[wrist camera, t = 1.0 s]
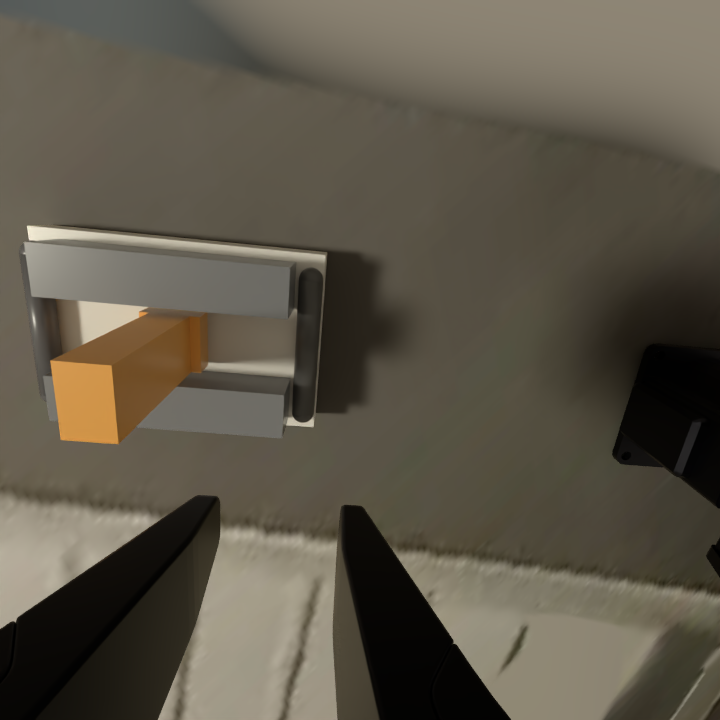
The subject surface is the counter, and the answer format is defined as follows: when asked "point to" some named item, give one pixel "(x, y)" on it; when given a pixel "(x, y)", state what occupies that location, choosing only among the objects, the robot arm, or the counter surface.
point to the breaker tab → (127, 373)
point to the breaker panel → (192, 293)
